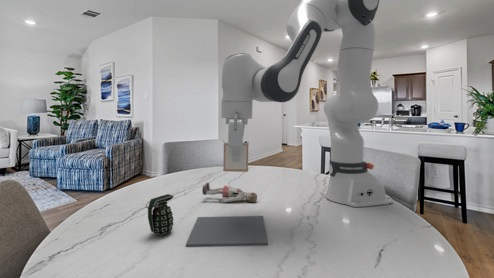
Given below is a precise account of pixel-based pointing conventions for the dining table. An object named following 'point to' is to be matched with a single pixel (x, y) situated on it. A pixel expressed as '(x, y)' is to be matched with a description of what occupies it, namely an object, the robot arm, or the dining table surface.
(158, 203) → the grenade
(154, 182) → the dining table surface
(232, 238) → the mat
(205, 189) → the figurine
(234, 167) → the tile
